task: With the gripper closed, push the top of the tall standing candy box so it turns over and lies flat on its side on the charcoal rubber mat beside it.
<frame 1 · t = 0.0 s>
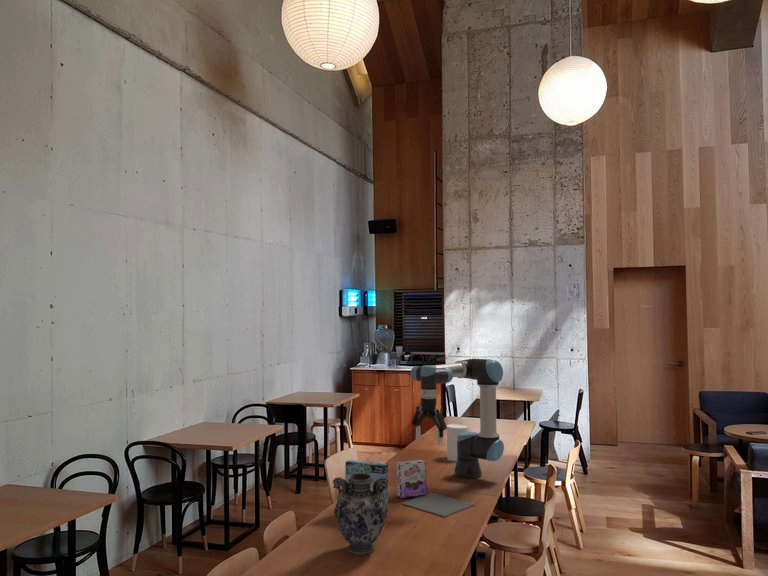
hand: (428, 442, 286), 28 cm above the table, tool pointing down, fingers open, 13 cm apart
candy box: (412, 496, 291), on the table, touching rubber mat
rubber mat: (437, 504, 279), on the table
canister: (458, 459, 365), on the table
blue cardboard box: (366, 514, 266), on the table
decorative vase: (360, 550, 227), on the table
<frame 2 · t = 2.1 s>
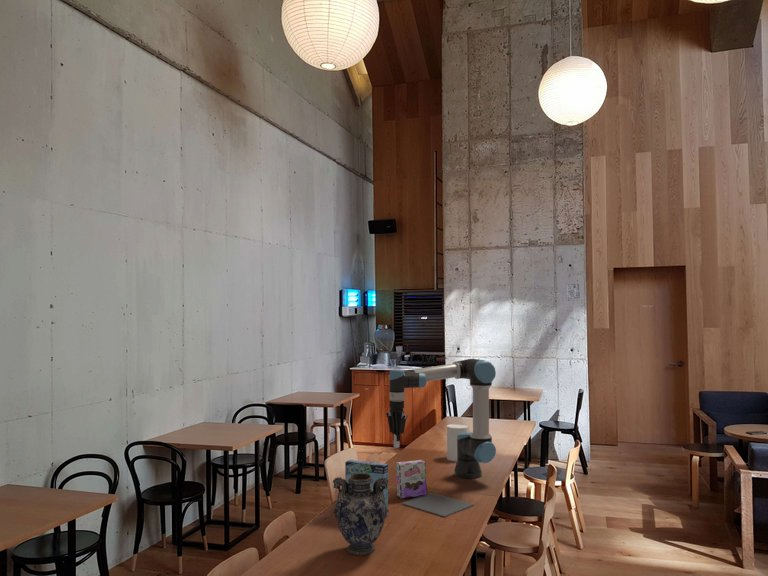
hand: (396, 447, 299), 22 cm above the table, tool pointing down, fingers closed
nothing on the table moved.
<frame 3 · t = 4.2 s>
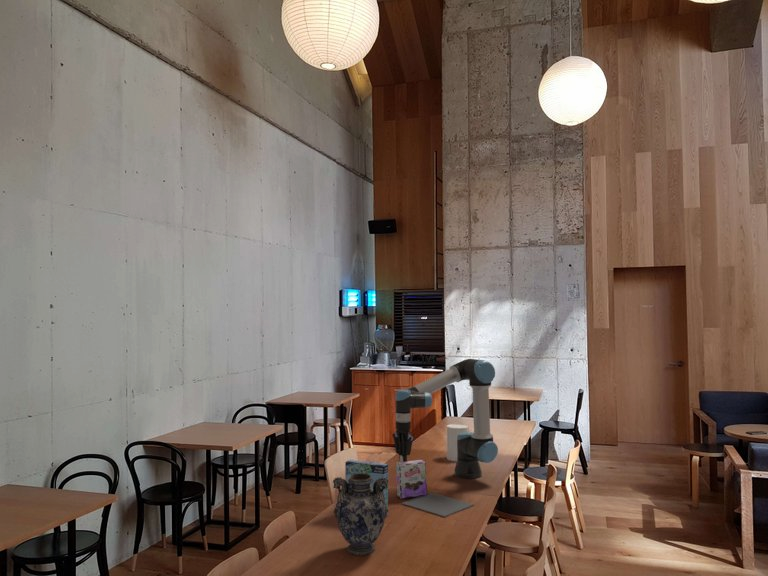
hand: (403, 468, 296), 12 cm above the table, tool pointing down, fingers closed
candy box: (412, 496, 291), on the table, touching rubber mat
everything else where it was.
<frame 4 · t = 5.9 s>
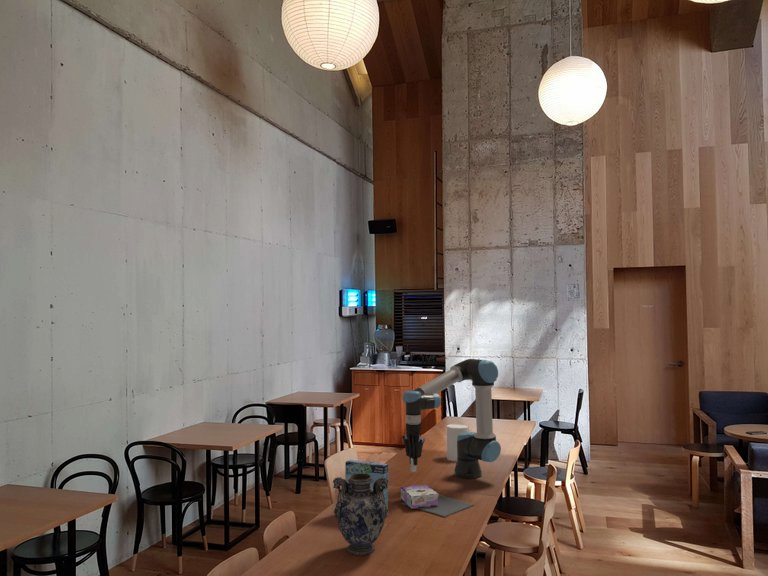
hand: (413, 471, 291), 12 cm above the table, tool pointing down, fingers closed
candy box: (413, 491, 289), point 3 cm above the table, touching rubber mat
everything else where it was.
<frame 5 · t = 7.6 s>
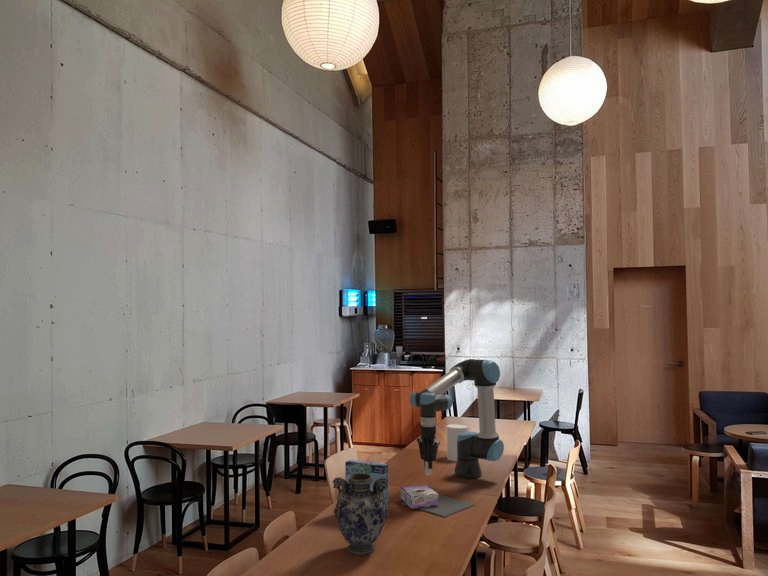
hand: (428, 475, 284), 12 cm above the table, tool pointing down, fingers closed
nothing on the table moved.
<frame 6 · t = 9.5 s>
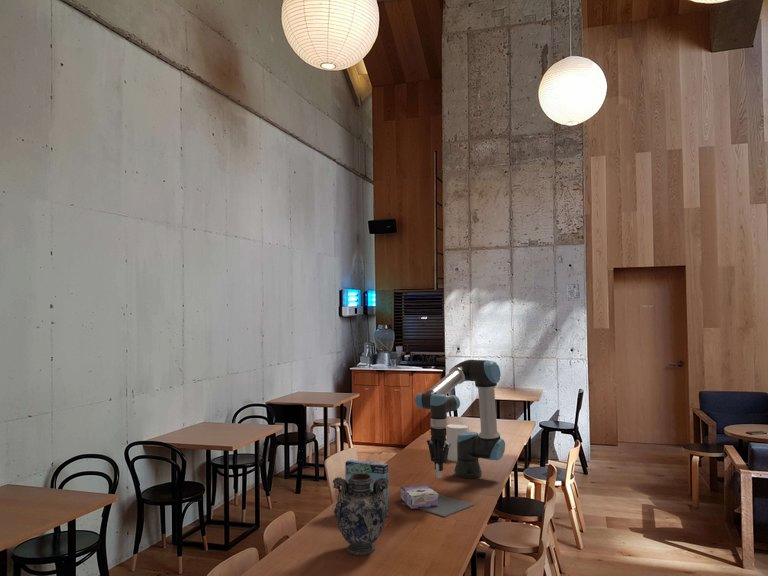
hand: (438, 477, 280), 13 cm above the table, tool pointing down, fingers closed
nothing on the table moved.
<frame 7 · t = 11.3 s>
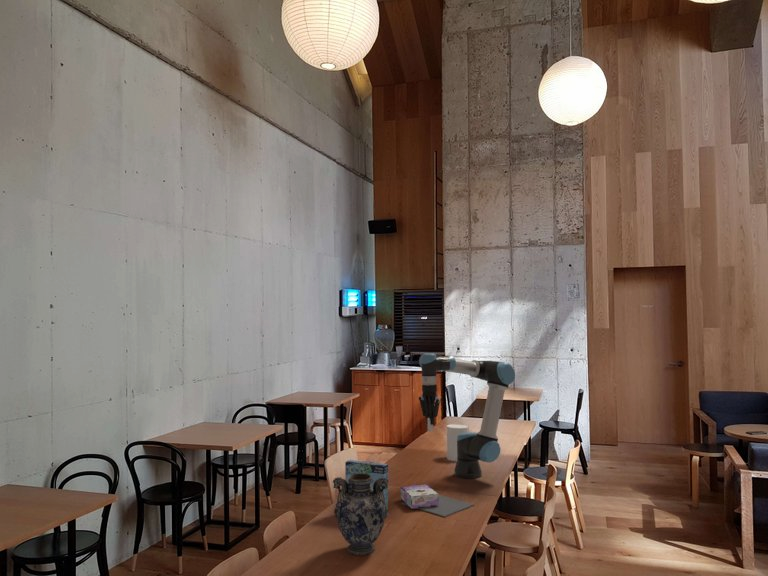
hand: (430, 430, 300), 31 cm above the table, tool pointing down, fingers closed
nothing on the table moved.
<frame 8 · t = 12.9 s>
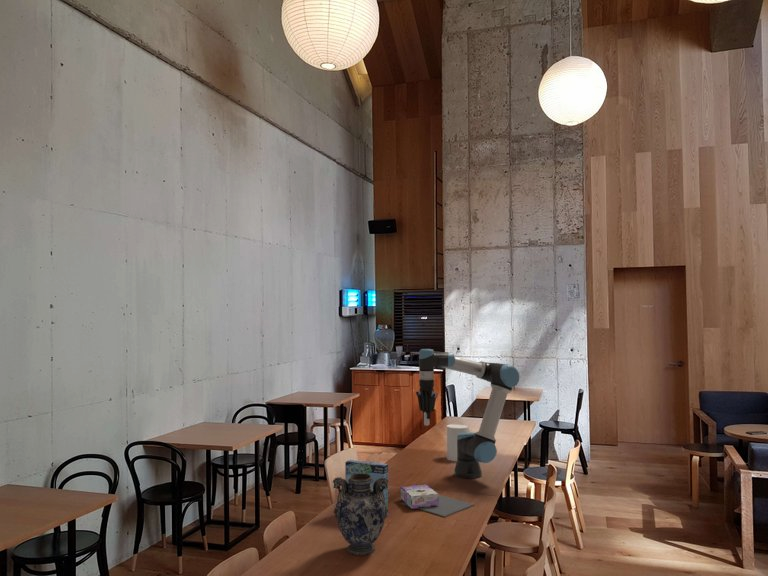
hand: (426, 425, 305), 32 cm above the table, tool pointing down, fingers closed
nothing on the table moved.
at the end: candy box tilted 89°; candy box touching rubber mat; candy box inside the target area on the rubber mat (10.7 cm from its centre), point 3.4 cm above the rubber mat's base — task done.
